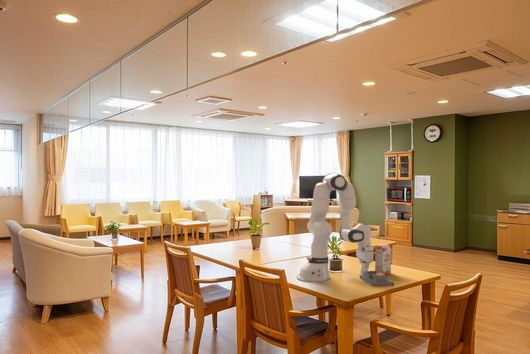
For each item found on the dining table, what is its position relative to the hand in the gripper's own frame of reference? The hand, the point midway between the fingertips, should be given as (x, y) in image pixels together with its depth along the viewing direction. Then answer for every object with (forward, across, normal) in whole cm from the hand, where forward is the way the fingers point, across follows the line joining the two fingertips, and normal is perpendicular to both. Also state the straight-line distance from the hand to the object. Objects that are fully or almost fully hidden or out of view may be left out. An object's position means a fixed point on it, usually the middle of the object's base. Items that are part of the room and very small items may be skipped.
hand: (364, 266), depth 269 cm
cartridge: (+6, 0, 0) cm, 6 cm away
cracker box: (+6, +2, +13) cm, 14 cm away
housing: (+6, +18, 0) cm, 19 cm away
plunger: (+3, +23, 0) cm, 23 cm away
